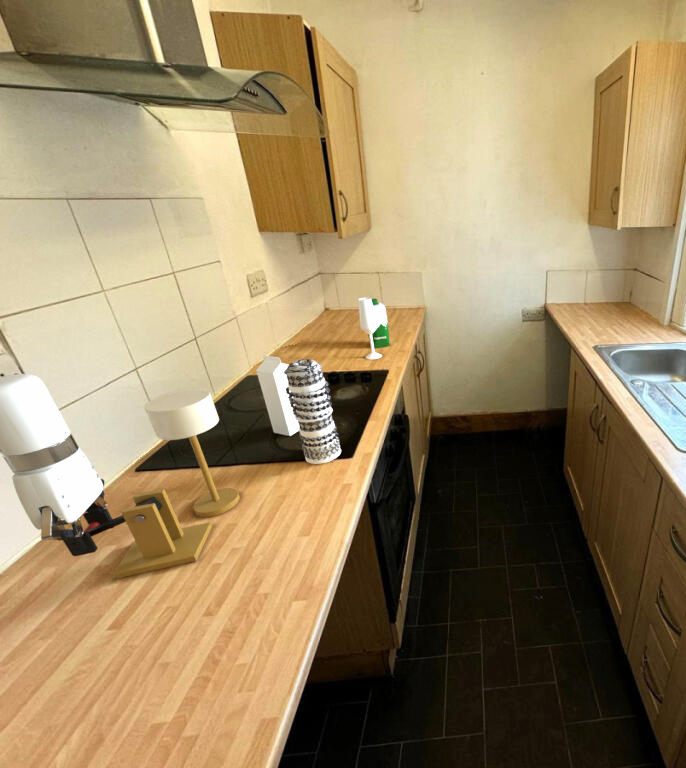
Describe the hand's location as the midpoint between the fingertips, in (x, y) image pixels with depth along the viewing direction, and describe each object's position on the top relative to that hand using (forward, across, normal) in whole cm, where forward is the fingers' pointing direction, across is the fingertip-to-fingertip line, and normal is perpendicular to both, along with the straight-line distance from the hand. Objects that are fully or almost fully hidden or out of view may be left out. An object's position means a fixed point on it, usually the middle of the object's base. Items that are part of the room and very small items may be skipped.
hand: (95, 539), depth 72 cm
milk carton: (+7, -112, +51) cm, 123 cm away
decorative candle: (+7, -25, +34) cm, 43 cm away
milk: (+6, -42, +24) cm, 49 cm away
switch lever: (-2, 0, +5) cm, 5 cm away
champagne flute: (+7, -97, +48) cm, 108 cm away
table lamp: (+6, -12, +14) cm, 19 cm away
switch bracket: (+6, 0, +9) cm, 11 cm away
